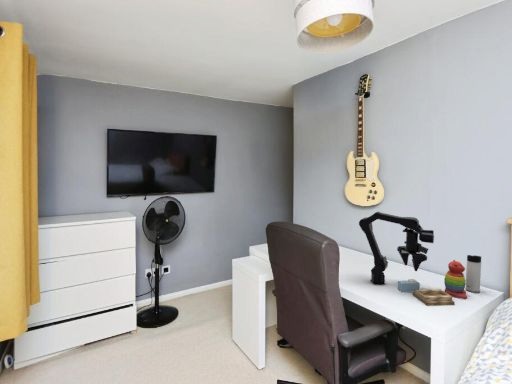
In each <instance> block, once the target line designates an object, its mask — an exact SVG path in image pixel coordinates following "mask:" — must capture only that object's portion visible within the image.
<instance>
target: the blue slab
mask: <svg viewBox="0 0 512 384" xmlns="http://www.w3.org/2000/svg"><path fill="white" fill-rule="evenodd" d="M420 284H421V283H420V282H419V281H417V280H416V279H414V278H408V280H397V290H398V291H399V292H400V293H413V292H415V290H421V289H420V288H421V287H420V286H421V285H420Z"/></svg>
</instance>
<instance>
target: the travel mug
mask: <svg viewBox="0 0 512 384" xmlns="http://www.w3.org/2000/svg"><path fill="white" fill-rule="evenodd" d="M465 271H466V275H465V282H466V284H465V291H466V292H469V293H473V294H479V293H480V292H481V278H482V277H481V275H482V256H481V255H471V254H467V256H466V268H465Z"/></svg>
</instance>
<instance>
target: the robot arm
mask: <svg viewBox="0 0 512 384" xmlns="http://www.w3.org/2000/svg"><path fill="white" fill-rule="evenodd" d="M376 220H380V221H383V222H389V223H393V224H397V225H400V226H402V227H404V229H403V230H402V232H403V233H406V236H405V240H404V244H405V245H399V246H397V248H396V251H397V252H398V254H399V255H400V258H401V260H402V262H403V264H404V266H408V262H409V256H410V255H411V262H412V265H413V269H414V271H415V272H418V270H419V267H420V266H421V264H422V263H423V262H426V261H427V260H428V256H427V254H428V251H429V248H427V247H424V246H423V245H422V244H421V243H428V244H434V241H435V235H434V234H435V233H434V230H433V229H424V228H423V227H422V225H421V224H420V221H419V219H418V218H417V217H414V216H410V217H409V216H398V215H394V214H389V213H384V212H380V211H376V212H374V213H373V214H371V215H370V216H368V217H363V218H361V219H360V220H359V222H358V225H359V227H360V229H361V231H362V232H363V233H364V234H365V237H366V239H367V242H368V245H369V248H370V250H371V253H372V255H373V263H374V266H373V267H372V268H371V270H370V273H371V274H370V275H371V276H370V278H371V279H370V280H369V281H370V282H371V283H372V284H373V285H386V283H385V281H386V279H385V277H386V275H385V273H384V272H385V271H386V269H387V268H388V266H389V265H388V264H389V261H388V260H387V256H386V255H385V256H384V255H382V252H381V250H380V248H379V244H378V242H377V239H376V237H375V234H374V231H373V222H375V221H376ZM419 241H420V243H419Z"/></svg>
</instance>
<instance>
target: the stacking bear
mask: <svg viewBox="0 0 512 384" xmlns="http://www.w3.org/2000/svg"><path fill="white" fill-rule="evenodd" d="M464 271H466V267H465V266H464V265H463V264H462V263H461V262H460V261H456V260H455V259H453V260H452V261H450V262H448V270H447V272H446V273H445V276H444V281H443V282H444V287H445V289H444V290H443V291H444V292H446V293H447V294H449V295H450V296H452V298H457V299H463V300H467V299H468V296H467V290H466V276H465V275H464V273H463V272H464Z"/></svg>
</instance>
